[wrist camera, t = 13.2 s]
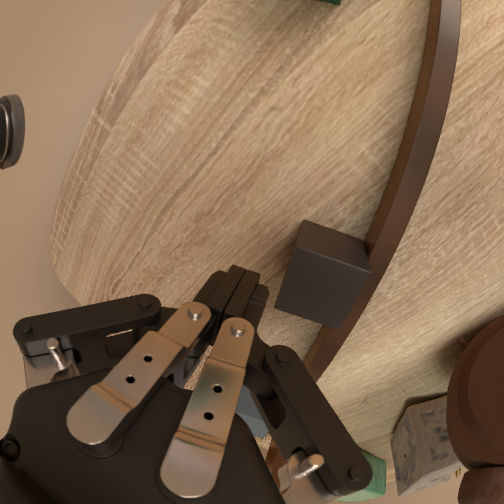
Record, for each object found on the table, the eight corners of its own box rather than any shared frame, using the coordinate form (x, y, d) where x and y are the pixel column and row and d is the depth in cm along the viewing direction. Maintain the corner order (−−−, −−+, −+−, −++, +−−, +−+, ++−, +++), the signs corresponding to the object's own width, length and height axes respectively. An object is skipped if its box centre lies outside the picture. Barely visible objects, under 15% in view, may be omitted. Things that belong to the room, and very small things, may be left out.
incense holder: (441, 426, 25) (446, 487, 16) (389, 434, 27) (387, 499, 18) (467, 387, 21) (483, 460, 12) (406, 396, 23) (411, 478, 14)
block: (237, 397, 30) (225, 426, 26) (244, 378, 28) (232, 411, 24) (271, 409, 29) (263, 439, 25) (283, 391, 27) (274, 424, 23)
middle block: (285, 272, 21) (273, 308, 17) (303, 219, 18) (295, 245, 15) (340, 291, 20) (339, 330, 16) (363, 240, 18) (371, 272, 14)
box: (352, 471, 35) (348, 504, 28) (308, 451, 33) (300, 491, 27) (387, 461, 31) (386, 497, 25) (348, 440, 30) (343, 485, 23)
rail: (278, 419, 30) (274, 434, 28) (267, 415, 30) (262, 431, 28) (449, -15, 7) (460, -27, 5) (432, -24, 7) (441, -37, 5)
